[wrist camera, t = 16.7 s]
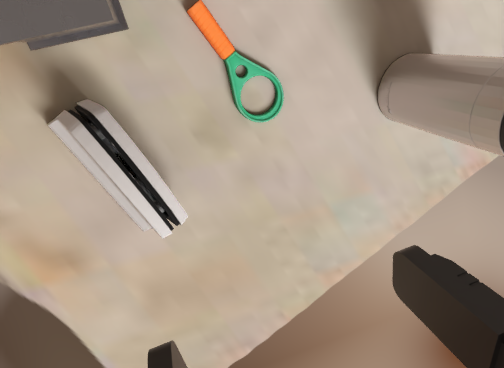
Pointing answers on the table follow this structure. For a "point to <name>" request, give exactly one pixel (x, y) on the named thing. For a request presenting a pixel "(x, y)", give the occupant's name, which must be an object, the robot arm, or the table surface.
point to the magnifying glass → (235, 62)
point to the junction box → (58, 21)
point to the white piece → (119, 166)
